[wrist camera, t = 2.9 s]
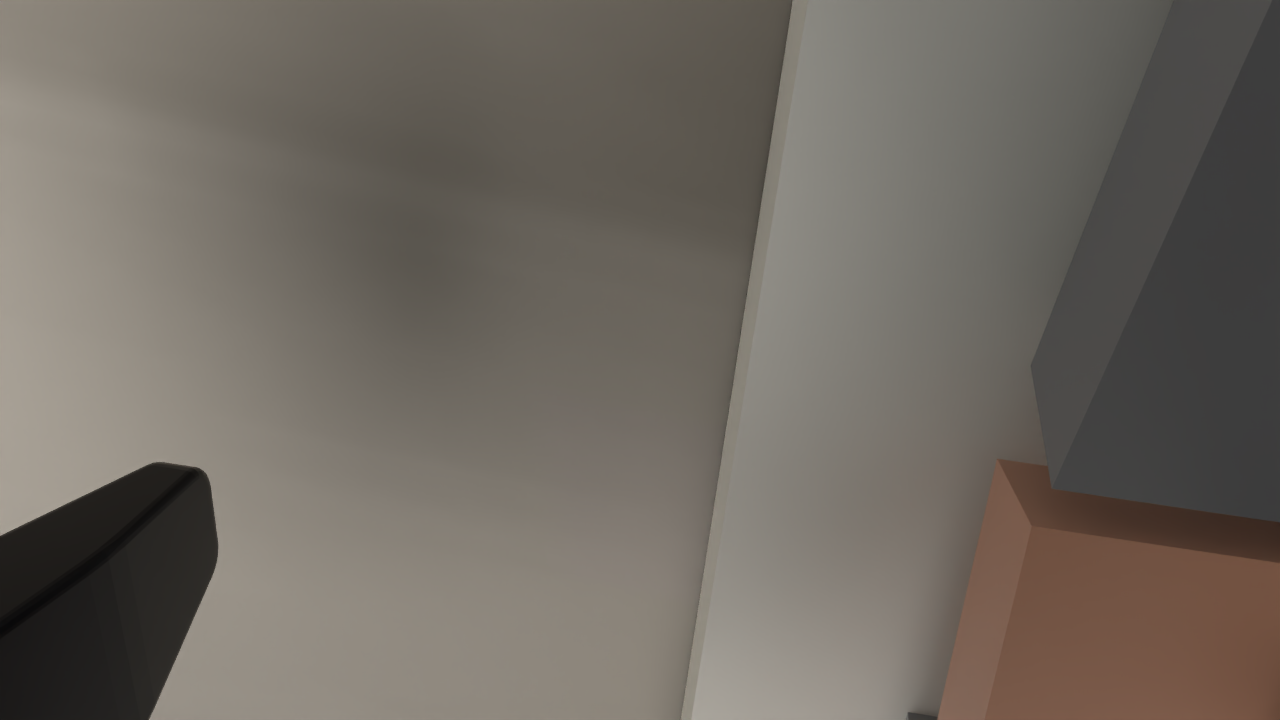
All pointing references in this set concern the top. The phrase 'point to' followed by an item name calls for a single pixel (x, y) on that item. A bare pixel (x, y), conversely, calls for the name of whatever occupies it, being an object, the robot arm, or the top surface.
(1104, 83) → the power strip
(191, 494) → the robot arm
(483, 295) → the top surface
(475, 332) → the top surface
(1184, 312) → the rocker
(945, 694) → the rocker
